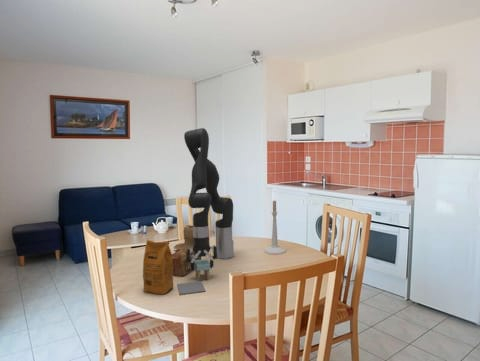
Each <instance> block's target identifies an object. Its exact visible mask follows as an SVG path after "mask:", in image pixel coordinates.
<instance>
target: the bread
mask: <svg viewBox="0 0 480 361" xmlns="http://www.w3.org/2000/svg"><path fill="white" fill-rule="evenodd" d="M171 254H172V257H173V261H172V263H173V276H176V277H183V276H185V275H186V274H189V273H190V272H192V271H193V270H192V269H191V262H187V260H186V255H187V248H186V249H181V250H177V251H175V252H173V253H171ZM193 254H194V252H193V251H192V252H191V253H190V259H191V258H192V256H193ZM195 260H202V257H197V258H196V259H195ZM194 270H196V267H195V262H194Z"/></svg>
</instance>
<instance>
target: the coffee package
mask: <svg viewBox="0 0 480 361" xmlns="http://www.w3.org/2000/svg"><path fill="white" fill-rule="evenodd" d="M172 254H173V253H172V251H171V248H170V242H169V240H167V241H153V240H151V239H147V240H146V243H145V248H144V255H143V260H142V261H143V263H142V265H143V267H142V279H143V292H145V293H146V292H147V293H151V294H153V295H165V294H167V293H168V292H169V291H170V290H171V289H172V288H174V275H173V263H172V261H173V257H172Z"/></svg>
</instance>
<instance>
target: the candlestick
mask: <svg viewBox="0 0 480 361" xmlns="http://www.w3.org/2000/svg"><path fill="white" fill-rule="evenodd" d="M278 213H279V212H278V211H277V200H272V211H271V214H272V228H271V229H272V231H271V232H272V234H271V245H268V246H266V247H264V249H263V253H265V254H268V255H274V256H276V255H283V254H285V253H286V252H287V250H286V248H285V247H284V246H280V245H279V243H278V242H279V241H278V240H279V239H278V227H277V224H278V223H277V216H278Z"/></svg>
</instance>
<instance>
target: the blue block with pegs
mask: <svg viewBox="0 0 480 361" xmlns="http://www.w3.org/2000/svg"><path fill="white" fill-rule="evenodd" d="M194 262H195V267H196V268H195V277H197V281H201V271H203V272H204V276H206V281H207V280H208V281H209V280H210V270H211V268H210V261H209V260H208V258H205V259H204V258H203V259H202V258H201V260H194Z"/></svg>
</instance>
